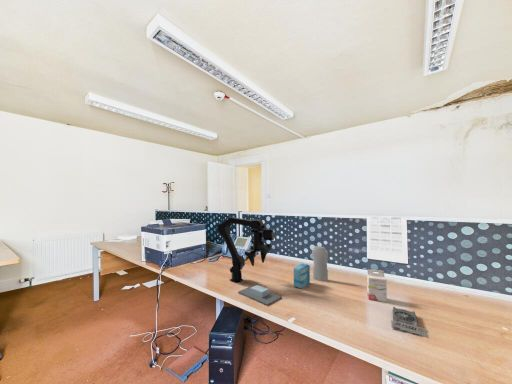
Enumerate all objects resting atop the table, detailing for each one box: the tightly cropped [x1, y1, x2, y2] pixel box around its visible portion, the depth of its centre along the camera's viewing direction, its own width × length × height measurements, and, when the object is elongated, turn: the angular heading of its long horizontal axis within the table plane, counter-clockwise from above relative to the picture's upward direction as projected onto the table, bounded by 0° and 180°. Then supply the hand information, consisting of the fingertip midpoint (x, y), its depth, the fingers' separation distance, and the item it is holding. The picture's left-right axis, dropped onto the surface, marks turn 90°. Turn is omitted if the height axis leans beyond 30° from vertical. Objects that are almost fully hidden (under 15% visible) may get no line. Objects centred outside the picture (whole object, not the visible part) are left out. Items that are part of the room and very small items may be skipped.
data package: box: [293, 263, 311, 289], centre depth 135 cm, size 12×4×12 cm, turn 138°
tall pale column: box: [311, 245, 329, 282], centre depth 144 cm, size 11×4×22 cm, turn 55°
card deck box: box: [250, 284, 269, 298], centre depth 122 cm, size 6×8×3 cm, turn 46°
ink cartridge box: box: [366, 269, 388, 303], centre depth 116 cm, size 9×5×15 cm, turn 71°
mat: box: [237, 285, 283, 307], centre depth 122 cm, size 22×12×1 cm, turn 46°
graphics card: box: [391, 306, 429, 338], centre depth 94 cm, size 17×4×12 cm
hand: (258, 264), depth 139 cm, fingers open, 9 cm apart
